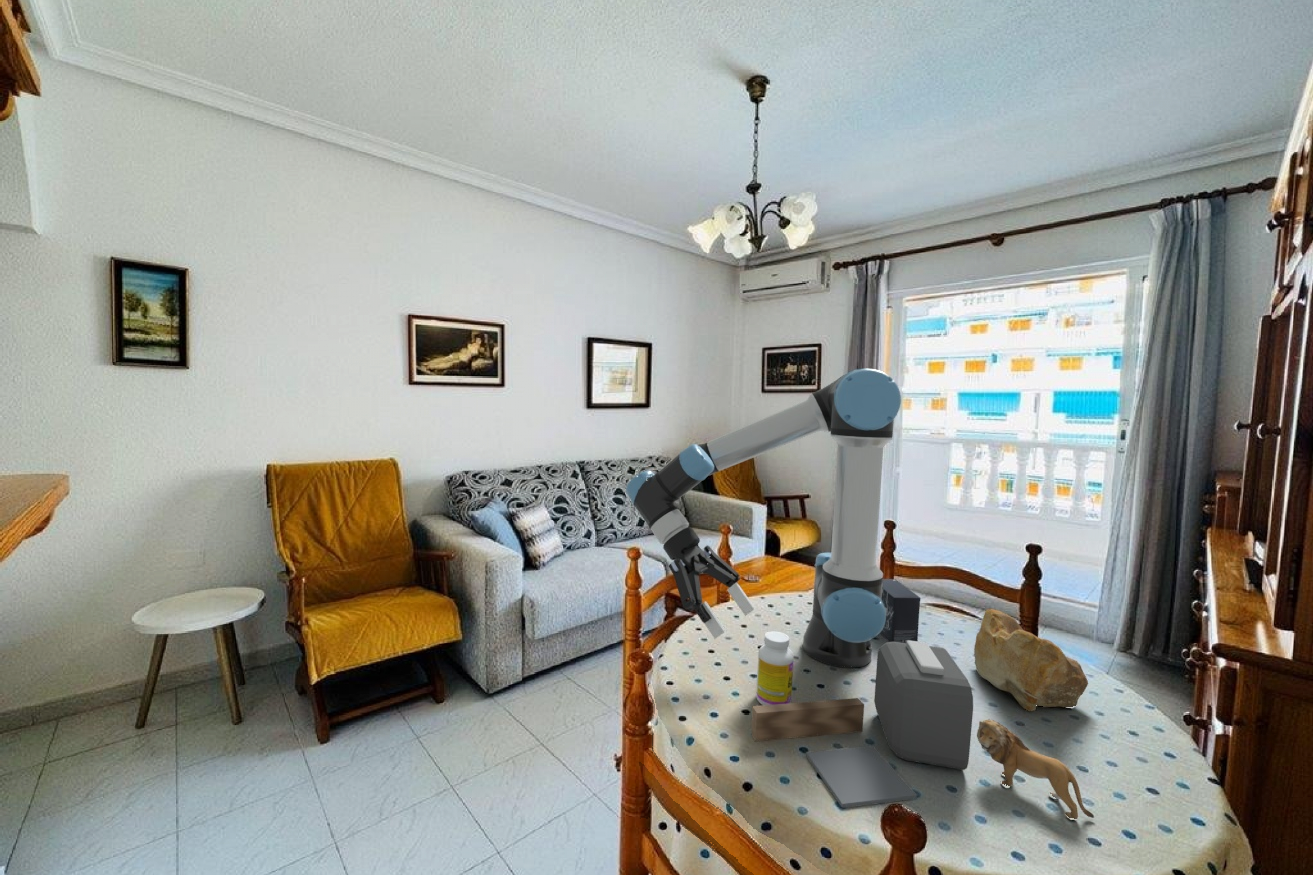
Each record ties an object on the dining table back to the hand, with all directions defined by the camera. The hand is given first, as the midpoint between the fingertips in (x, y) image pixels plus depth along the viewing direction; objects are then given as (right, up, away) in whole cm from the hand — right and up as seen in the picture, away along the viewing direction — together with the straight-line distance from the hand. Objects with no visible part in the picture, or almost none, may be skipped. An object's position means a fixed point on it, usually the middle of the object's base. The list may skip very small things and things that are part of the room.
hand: (736, 623), depth 104 cm
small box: (+44, -13, +29) cm, 55 cm away
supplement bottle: (+7, -14, -3) cm, 16 cm away
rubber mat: (+15, -16, -23) cm, 32 cm away
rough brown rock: (+61, -16, +2) cm, 63 cm away
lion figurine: (+40, -17, -25) cm, 50 cm away
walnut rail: (+10, -15, -13) cm, 22 cm away
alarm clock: (+29, -16, -13) cm, 35 cm away
